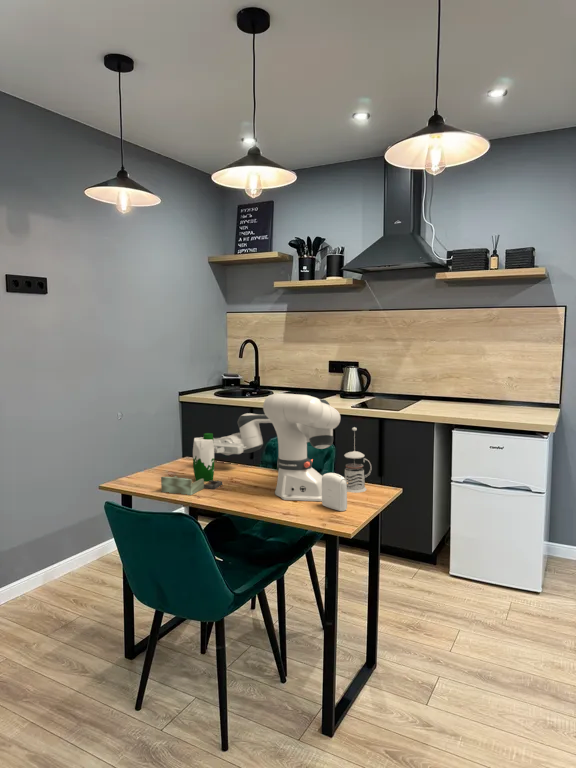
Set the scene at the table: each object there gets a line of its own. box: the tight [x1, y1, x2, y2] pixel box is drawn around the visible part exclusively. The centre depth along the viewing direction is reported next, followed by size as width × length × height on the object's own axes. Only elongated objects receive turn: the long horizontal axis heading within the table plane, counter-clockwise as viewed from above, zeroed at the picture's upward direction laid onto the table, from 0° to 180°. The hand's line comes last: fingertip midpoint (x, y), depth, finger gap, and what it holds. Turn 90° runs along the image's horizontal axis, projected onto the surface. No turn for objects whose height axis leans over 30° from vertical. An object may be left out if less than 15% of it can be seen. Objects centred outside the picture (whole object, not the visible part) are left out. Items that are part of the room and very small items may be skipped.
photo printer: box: [321, 472, 348, 512], centre depth 187 cm, size 10×4×12 cm, turn 39°
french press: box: [343, 426, 373, 494], centre depth 210 cm, size 10×12×25 cm
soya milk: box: [192, 432, 215, 483], centre depth 227 cm, size 9×9×20 cm
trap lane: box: [160, 475, 223, 496], centre depth 215 cm, size 23×17×6 cm
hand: (214, 451), depth 237 cm, fingers closed
